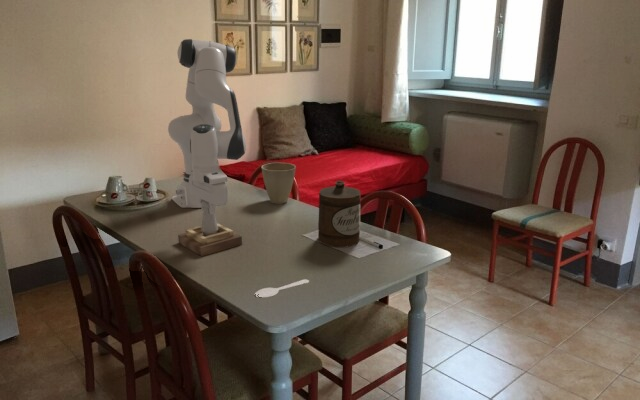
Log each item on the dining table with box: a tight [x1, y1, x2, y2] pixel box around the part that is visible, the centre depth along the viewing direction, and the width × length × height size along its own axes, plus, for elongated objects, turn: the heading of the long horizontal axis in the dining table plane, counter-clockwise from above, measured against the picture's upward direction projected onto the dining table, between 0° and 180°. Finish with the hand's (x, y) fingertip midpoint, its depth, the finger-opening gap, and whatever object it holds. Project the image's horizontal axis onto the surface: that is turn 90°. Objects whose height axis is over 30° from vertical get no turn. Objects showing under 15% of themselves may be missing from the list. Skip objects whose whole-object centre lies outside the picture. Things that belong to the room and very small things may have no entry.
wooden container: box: [317, 180, 361, 248], centre depth 186 cm, size 15×15×22 cm
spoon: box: [254, 278, 310, 299], centre depth 153 cm, size 5×18×1 cm, turn 124°
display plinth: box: [177, 222, 243, 257], centre depth 184 cm, size 16×16×5 cm
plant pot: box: [261, 162, 296, 205], centre depth 231 cm, size 15×15×16 cm
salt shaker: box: [200, 200, 218, 237], centre depth 182 cm, size 6×6×13 cm
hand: (208, 212), depth 182 cm, fingers closed on salt shaker, 3 cm apart
